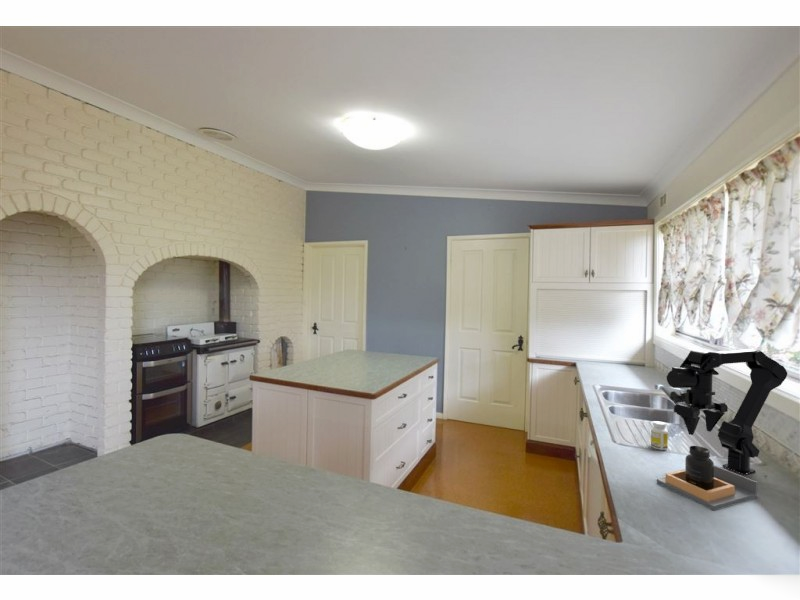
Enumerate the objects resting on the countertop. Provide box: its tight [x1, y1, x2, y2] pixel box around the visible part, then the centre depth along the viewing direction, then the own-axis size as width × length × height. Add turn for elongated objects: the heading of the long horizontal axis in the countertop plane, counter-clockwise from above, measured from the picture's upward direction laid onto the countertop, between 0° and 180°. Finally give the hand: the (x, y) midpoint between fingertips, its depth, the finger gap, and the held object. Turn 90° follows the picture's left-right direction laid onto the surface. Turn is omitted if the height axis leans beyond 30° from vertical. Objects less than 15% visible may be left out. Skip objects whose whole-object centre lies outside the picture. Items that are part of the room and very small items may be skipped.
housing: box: [656, 464, 759, 511], centre depth 115 cm, size 20×16×5 cm
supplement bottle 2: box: [684, 445, 715, 491], centre depth 114 cm, size 7×7×12 cm
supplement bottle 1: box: [650, 420, 669, 451], centre depth 147 cm, size 5×5×10 cm
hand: (700, 432), depth 128 cm, fingers open, 9 cm apart
